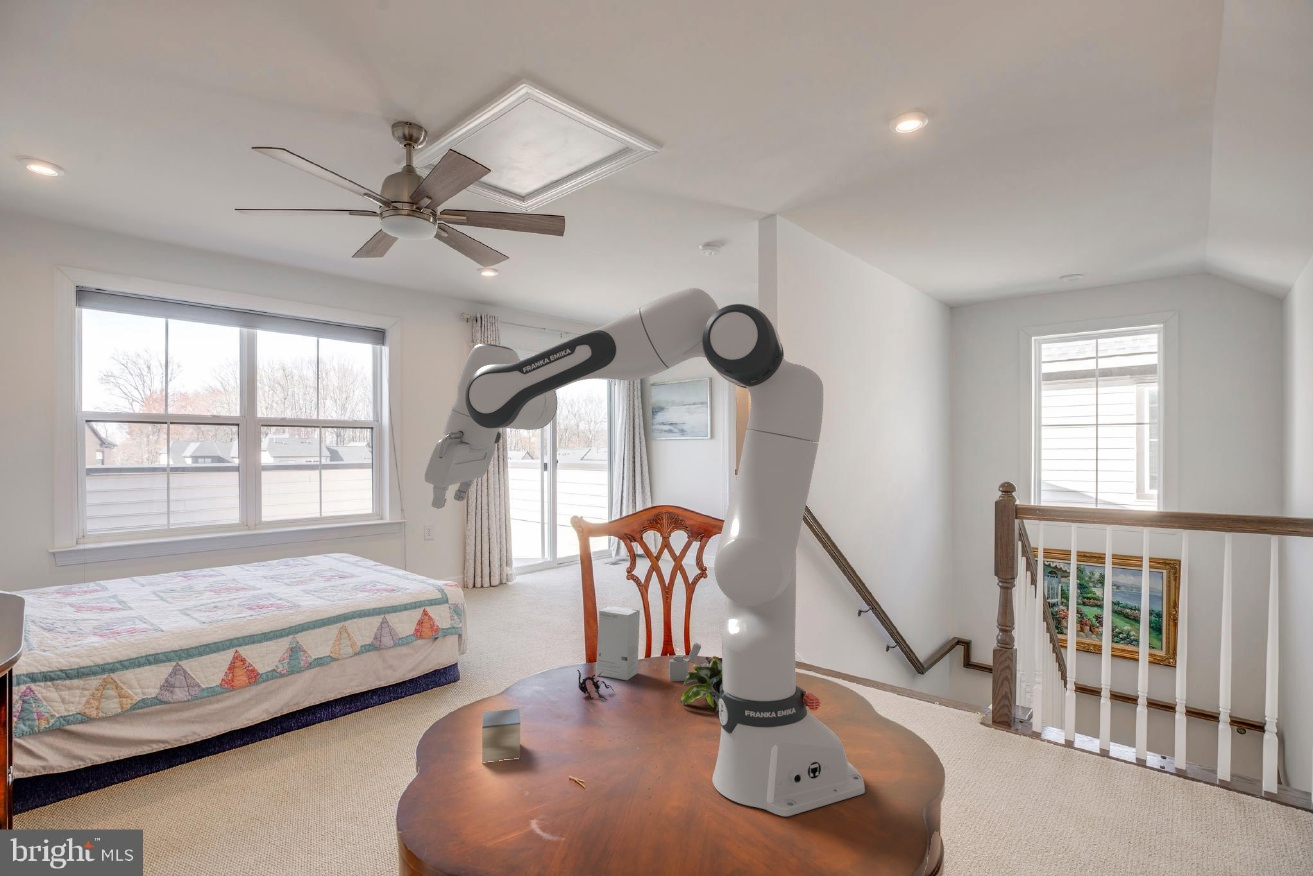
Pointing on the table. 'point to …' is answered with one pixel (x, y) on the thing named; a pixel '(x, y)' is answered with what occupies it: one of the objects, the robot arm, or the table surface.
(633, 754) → the table surface
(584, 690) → the creature
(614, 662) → the skincare box
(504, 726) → the maple cube
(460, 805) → the table surface
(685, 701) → the green leafy plant
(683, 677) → the lighter
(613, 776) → the table surface
